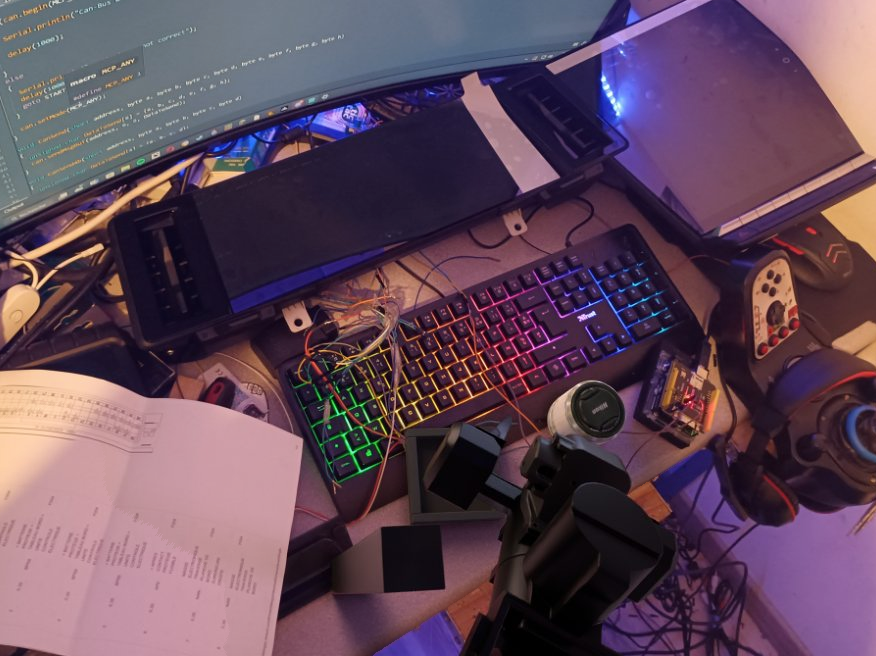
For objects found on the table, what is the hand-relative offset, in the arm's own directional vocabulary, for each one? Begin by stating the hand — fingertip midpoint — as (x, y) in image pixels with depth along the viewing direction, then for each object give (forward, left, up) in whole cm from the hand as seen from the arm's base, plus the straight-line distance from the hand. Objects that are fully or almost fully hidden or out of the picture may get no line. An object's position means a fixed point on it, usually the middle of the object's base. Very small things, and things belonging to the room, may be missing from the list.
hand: (555, 444), depth 62 cm
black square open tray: (0, +6, -15) cm, 16 cm away
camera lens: (+5, -8, -15) cm, 18 cm away
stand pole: (-9, +17, -15) cm, 25 cm away
